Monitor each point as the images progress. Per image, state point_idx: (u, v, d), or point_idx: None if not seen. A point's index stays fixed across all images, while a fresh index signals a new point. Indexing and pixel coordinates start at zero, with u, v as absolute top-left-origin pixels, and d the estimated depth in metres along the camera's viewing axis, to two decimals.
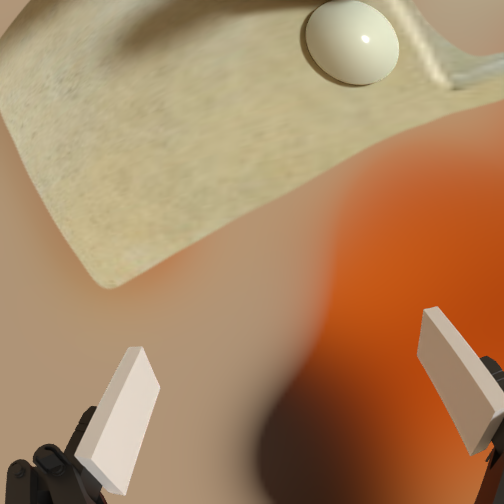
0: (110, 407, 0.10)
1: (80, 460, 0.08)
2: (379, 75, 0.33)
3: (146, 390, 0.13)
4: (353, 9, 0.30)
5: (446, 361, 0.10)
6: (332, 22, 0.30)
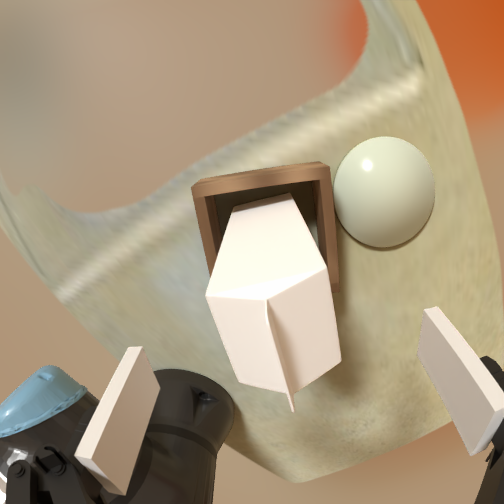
0: (110, 407, 0.10)
1: (80, 460, 0.08)
2: (426, 168, 0.30)
3: (146, 390, 0.13)
4: (348, 190, 0.31)
5: (446, 361, 0.10)
6: (367, 217, 0.32)
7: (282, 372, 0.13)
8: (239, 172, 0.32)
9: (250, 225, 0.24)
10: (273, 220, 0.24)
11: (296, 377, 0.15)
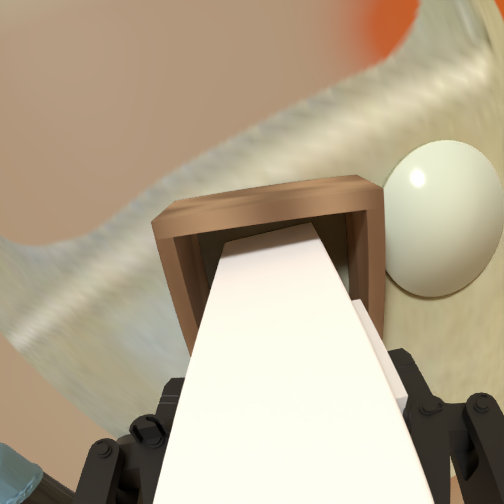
0: None
1: None
2: (496, 187, 0.19)
3: None
4: (397, 219, 0.20)
5: None
6: (420, 257, 0.21)
7: None
8: None
9: (250, 302, 0.13)
10: (292, 295, 0.13)
11: None
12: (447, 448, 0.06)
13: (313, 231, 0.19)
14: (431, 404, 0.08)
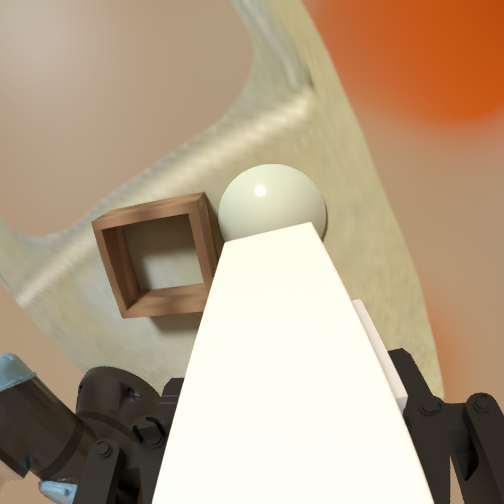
0: None
1: None
2: (313, 191, 0.34)
3: None
4: (231, 217, 0.36)
5: None
6: None
7: None
8: None
9: (250, 302, 0.13)
10: (291, 295, 0.13)
11: None
12: (447, 448, 0.06)
13: (313, 231, 0.19)
14: (431, 404, 0.08)
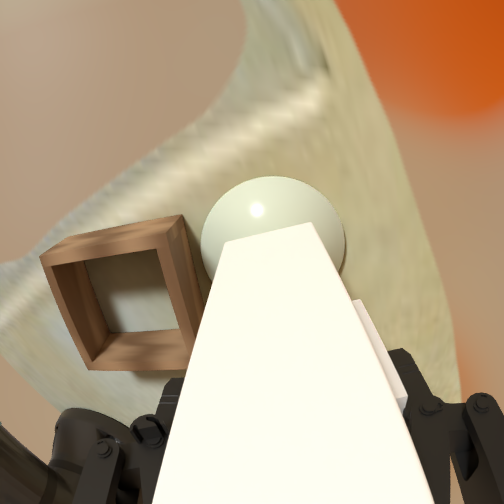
0: None
1: None
2: (329, 214, 0.25)
3: None
4: (218, 248, 0.27)
5: None
6: None
7: None
8: (100, 230, 0.27)
9: (250, 302, 0.13)
10: (292, 295, 0.13)
11: None
12: (447, 448, 0.06)
13: (313, 231, 0.19)
14: (431, 404, 0.08)
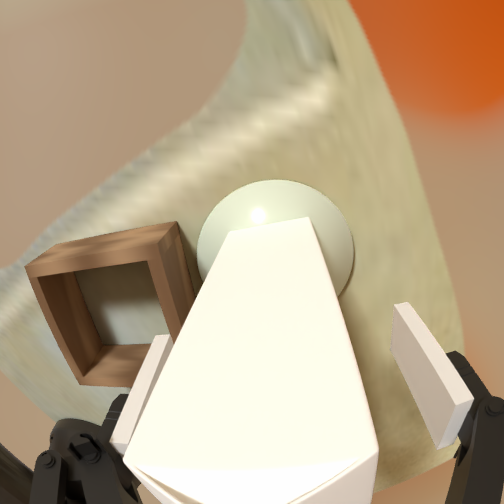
0: (143, 393, 0.11)
1: (115, 446, 0.09)
2: (337, 221, 0.23)
3: None
4: None
5: (414, 355, 0.11)
6: None
7: None
8: (89, 237, 0.25)
9: (243, 278, 0.15)
10: (280, 273, 0.15)
11: None
12: None
13: (309, 224, 0.21)
14: (497, 405, 0.07)
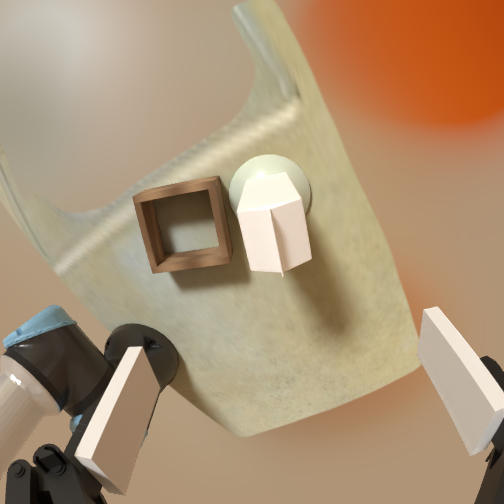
0: (110, 407, 0.10)
1: (80, 460, 0.08)
2: (300, 174, 0.46)
3: (146, 390, 0.13)
4: (239, 194, 0.47)
5: (446, 361, 0.10)
6: None
7: (277, 246, 0.27)
8: (167, 185, 0.47)
9: (259, 187, 0.38)
10: (274, 184, 0.37)
11: (284, 260, 0.29)
12: None
13: (285, 173, 0.44)
14: None
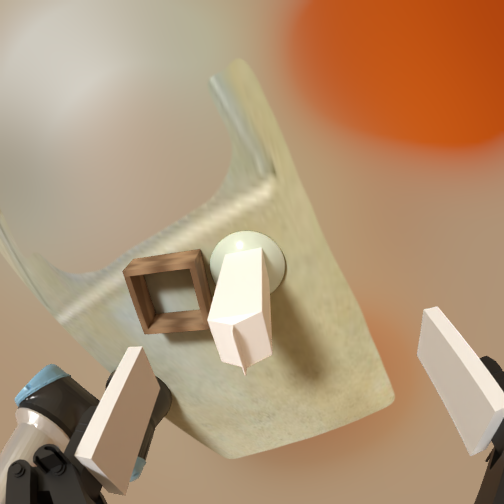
0: (110, 407, 0.10)
1: (80, 460, 0.08)
2: (275, 249, 0.51)
3: (146, 390, 0.13)
4: (219, 266, 0.52)
5: (446, 361, 0.10)
6: None
7: (239, 355, 0.31)
8: None
9: (233, 276, 0.43)
10: (245, 274, 0.42)
11: (248, 359, 0.34)
12: None
13: (260, 252, 0.49)
14: None
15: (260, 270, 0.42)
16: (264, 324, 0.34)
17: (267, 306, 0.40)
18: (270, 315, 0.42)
